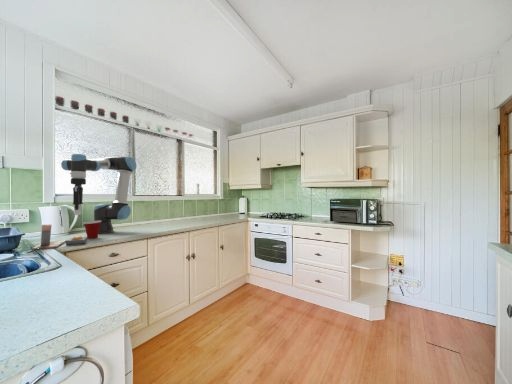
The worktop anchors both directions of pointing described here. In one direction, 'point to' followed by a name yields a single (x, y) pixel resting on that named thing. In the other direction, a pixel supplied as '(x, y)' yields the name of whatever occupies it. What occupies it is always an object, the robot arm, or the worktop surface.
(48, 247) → the picture board
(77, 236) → the button
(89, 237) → the plastic cup
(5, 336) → the worktop surface
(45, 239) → the marker
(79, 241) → the button housing
